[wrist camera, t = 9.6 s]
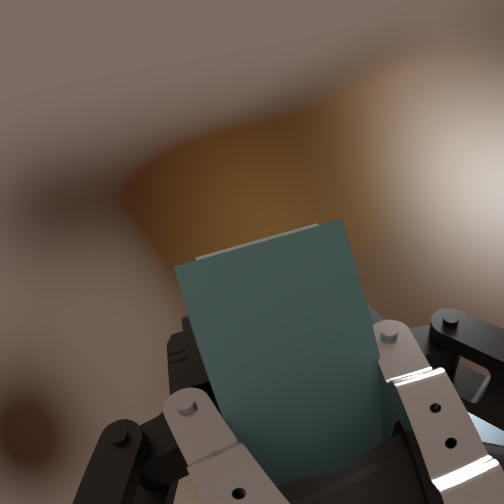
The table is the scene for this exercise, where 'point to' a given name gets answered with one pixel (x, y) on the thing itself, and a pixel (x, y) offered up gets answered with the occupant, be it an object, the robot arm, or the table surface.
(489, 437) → the table surface
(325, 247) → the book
